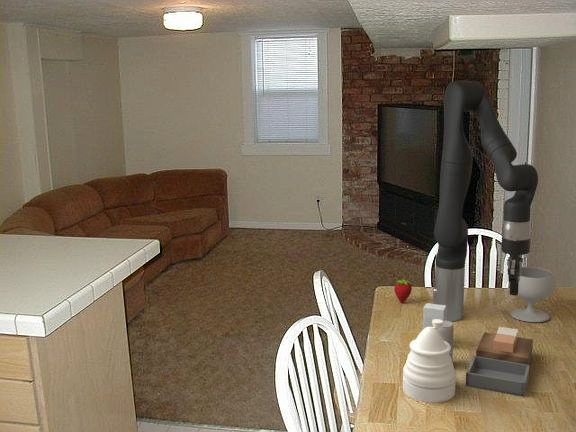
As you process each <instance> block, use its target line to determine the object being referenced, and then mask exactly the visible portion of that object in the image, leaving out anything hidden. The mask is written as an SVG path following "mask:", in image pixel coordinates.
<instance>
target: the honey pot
mask: <svg viewBox="0 0 576 432" xmlns="http://www.w3.org/2000/svg"><path fill="white" fill-rule="evenodd" d="M432 324H433V326H434V327H426V328H425V329H423V328H422V330H421V331H420V332H419V334H418V335H417V337H416V338H415V339H413V340H412V341H410V343H409V349H410V351H409V353H408V355H407V359H406V362H405V364H404V365H403V369H402V372H403V373H402V390H403V392H404V393H405V395H406V396H408V397H409V398H411V399H414V400H416V401H419V402H423V403H442V402H443V403H444V402H446V401H449V400H450V399H453V397H454V396H455V395H456V384H457V383H456V379H457V378H456V374H457V373H456V369H455V367H454V364H453V362H452V359H451V357H450V355H449V352H450V351H451V346H450V344H449V343H447V342H446V341H444V340H443V338H442V336H441V335H440V333H439V332H438V331H437V330H436V329H439V328H440V327H441V326H442V324H443V321H442V320H440V319H434V320H432Z"/></svg>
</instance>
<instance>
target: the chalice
mask: <svg viewBox="0 0 576 432" xmlns="http://www.w3.org/2000/svg"><path fill="white" fill-rule="evenodd" d="M519 279H520V280H519V288H518V295H517V297H519V298H521V299H522V300H524V301H525V302H526V307H519V308H515V309H512V310H511V311H510V312H509V314H510V316H511V317H513V318H514V319H515V320H516V319H517V320H518V321H521V322H528V323H543V322H548V321H550V319H551V316H550V314H549V313H547V312H545V311H543V310H540V309H536V308H534V306H535V304H536V303H537V302H538V301H540V300H545V299H547V298H549V297H551V296H552V295H553V294H554V293H555V291H556V279H555V277H554V275H553V273H552V271H550V270H548V269H545V268H542V267H536V266H535V267H534V266H522V272H521V276H520V278H519ZM508 287H509V289H510V283H509V282H508Z"/></svg>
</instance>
